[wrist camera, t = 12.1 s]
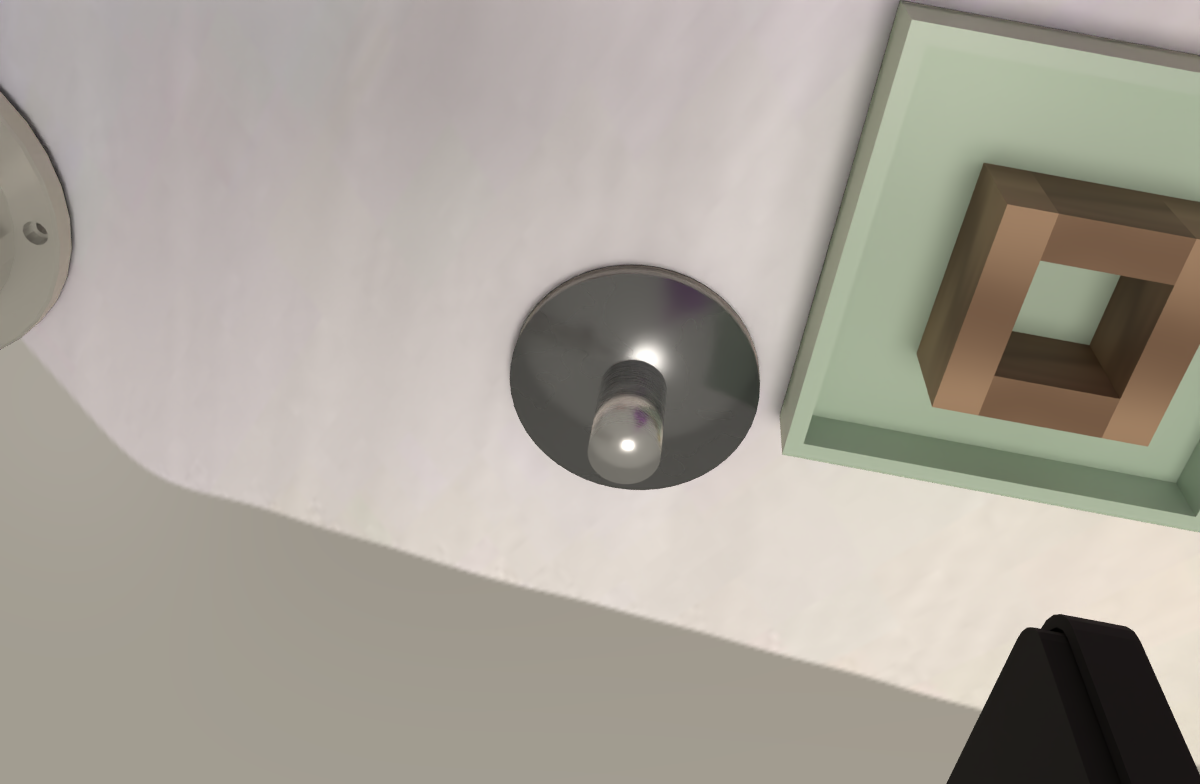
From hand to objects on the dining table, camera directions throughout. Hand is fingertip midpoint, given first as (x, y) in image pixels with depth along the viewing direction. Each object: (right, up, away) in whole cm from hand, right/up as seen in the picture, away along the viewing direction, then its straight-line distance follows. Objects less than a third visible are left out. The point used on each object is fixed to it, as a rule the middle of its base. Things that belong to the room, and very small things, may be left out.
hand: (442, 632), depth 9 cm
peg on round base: (+3, +3, +31) cm, 32 cm away
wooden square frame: (+16, +6, +27) cm, 32 cm away
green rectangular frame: (+16, +6, +28) cm, 33 cm away
